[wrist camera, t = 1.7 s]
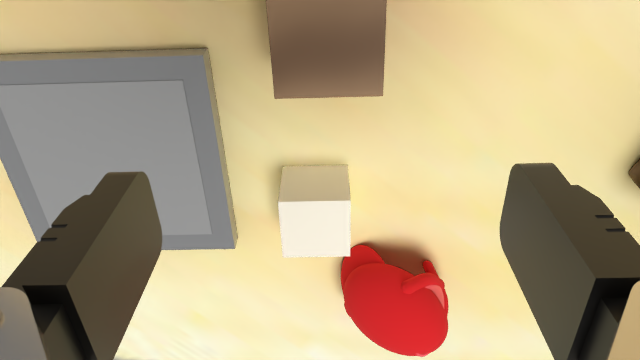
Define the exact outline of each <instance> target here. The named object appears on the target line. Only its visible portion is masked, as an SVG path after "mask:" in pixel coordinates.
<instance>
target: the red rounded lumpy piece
mask: <svg viewBox="0 0 640 360" xmlns="http://www.w3.org/2000/svg"><path fill="white" fill-rule="evenodd" d="M422 265H423V268H424V270H425V272H426V273H422V274H419V275H416V276H414V275H413V274H411V273H409V272H408V271H406V270H403V269H401V268H399V267H396V266H393V265H389V264H385V263H384V261H383V259H382V258H381V257H380V256H379V254H378V253H377V252H376V251H374V250H373V249H372V248H370V247H368V246H365V245H357V246H354V247H353V248H351V249H350V256H345V258H344V260H343V264H342V269H341V284H342V290H343V294H344V301H345V303H344V306H345V309H346V312H347V314H348V315H349V316H350V317H351V318H352V320H353V322H354V323H355V324H356V326H357V327H358V328H359V329H360V330H361V331H362V333H363V334H365V335H366V336H367V337H368V338H369V339H370V340H372V341H373V342H374V343H376V344H377V345H379V346H381V347H383V348H385V349H387V350H389V351H391V352H394V353H397V354H401V355H407V356H420V357H423V356H426V355H428V354H429V353H431V352H433V351H435V350H436V349H437V348H439V347H440V346H441V344H442V343H443V342H444V340H445V338H446V336H447V332H448V320H447V314H448V298H447V295H446V292H445V289H444V287H445V285H444V282H443V281H442V280H441V279H440V278H439V277H438V275H437V273H436V271H435V269H434V267H433V264H432V263H431V262H430V261H424V262H423V264H422Z"/></svg>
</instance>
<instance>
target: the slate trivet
mask: <svg viewBox="0 0 640 360" xmlns="http://www.w3.org/2000/svg"><path fill="white" fill-rule="evenodd" d="M0 158H1V161H2V163H3V165H4V167H5V170H6V172H7V174H8V177H9V179H10V181H11V183H12V186H13V188H14V190H15V192H16V195H17V197H18V199H19V202H20V204H21V206H22V208H23V211H24V213H25V215H26V218H27V220H28V222H29V224H30V227H31V229H32V231H33V233H34V236H35V238H36V240H37V242H39V241H41V237H42V236H43V234H44V233H45V232H46V231H47V229H48V228H51V224H52V223H53V222H54V221H55V219H56V218H57V217H58V216H59V214H60V213H61V212H62V211H63V209H64V208H66V207H67V206H69V205H70V204H72V203H73V202H75V201H76V200H77V199H79V198H80V197H82V196H83V195H90V194H91V193H92V191H93V190H94V189H95V187H96V186H97V185H98V183H99V182H100V181H101V179H102V178H103V177H104V176H105V174H107V173H108V172H139V171H142V172H144V173H145V174H146V175H147V177H148V179H149V182H150V186H151V190H152V193H153V197H154V201H155V205H156V209H157V213H158V217H159V220H160V224H161V229H162V248H161V250H191V249H235V247H236V243H237V239H238V235H237V229H236V223H235V216H234V210H233V204H232V197H231V191H230V185H229V178H228V172H227V166H226V159H225V153H224V147H223V140H222V134H221V128H220V121H219V115H218V109H217V102H216V96H215V90H214V83H213V77H212V71H211V64H210V58H209V52H208V48H197V49H164V50H131V51H98V52H65V53H31V54H0Z"/></svg>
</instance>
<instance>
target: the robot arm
mask: <svg viewBox="0 0 640 360" xmlns="http://www.w3.org/2000/svg"><path fill="white" fill-rule="evenodd" d="M500 240H501V245H502V248H503V251H504V253H505V255H506V257H507V259H508V262H509V264H510V266H511V268H512V270H513V272H514V274H515V277H516V279H517V281H518V283H519V285H520V287H521V289H522V291H523V294H524V296H525V298H526V300H527V302H528V304H529V306H530V308H531V311H532V313H533V315H534V317H535V319H536V321H537V323H538V326H539V328H540V330H541V332H542V334H543V336H544V338H545V340H546V343H547V345H548V347H549V349H550V351H551V353H552V355H553V357H554V360H640V245H639V244H638V243H637V242H636V240H635V239H634V238H633V237H632V236H631V235H630V233H629V232H625V227H624V226H623V225H622V224H621V223H620V222H619V220H618V219H617V218H614V214H613V213H612V212H611V211H610V210H609V209H608V207H607V206H606V205H605V204H604V203H603V201H602V200H601V199H600V198H598V197H597V196H595V195H593V194H592V193H590V192H589V191H587V190H585V189H584V188H582V187H581V186H579V185H570V183H569V182H568V181H567V180H566V178H565V177H564V176H563V175H562V173H561V172H560V171H559V170H558V168H557V167H556V166H555V165H554V164H553V163H526V164H515V165H514V166H513V167H512V169H511V172H510V176H509V181H508V186H507V191H506V196H505V201H504V206H503V211H502V216H501V221H500ZM161 248H162V229H161V224H160V220H159V217H158V213H157V209H156V205H155V201H154V197H153V193H152V190H151V186H150V182H149V179H148V177H147V175H146V174H145V173H144V172H142V171H139V172H108V173H107V174H105V176H104V177H103V178H102V179H101V181H100V182H99V183H98V185H97V186H96V187H95V189H94V190H93V191H92V193H91V194H90V195H83V196H82V197H80V198H79V199H77V200H76V201H75V202H73V203H72V204H70V205H69V206H67V207H66V208H64V209H63V211H62V212H61V213H60V214H59V216H58V217H57V218H56V219H55V221H54V222H53V223H52V224H51V228H48V229H47V231H46V232H45V233H44V234H43V236H42V237H41V241H39V242H37V243H36V244H35V246H34V247H33V248H32V249H31V251H30V252H29V253H28V254H27V256H26V257H25V258H24V259H23V261H22V262H21V263H20V264H19V266H18V267H17V268H16V269H15V271H14V272H13V273H12V274H11V276H10V277H9V278H8V279H7V281H6V282H5V283H4V284H3V286H2V287H0V360H113V359H114V356H115V354H116V352H117V350H118V347H119V345H120V343H121V341H122V338H123V336H124V334H125V332H126V329H127V327H128V325H129V323H130V320H131V318H132V316H133V314H134V311H135V309H136V307H137V305H138V303H139V300H140V298H141V296H142V294H143V291H144V289H145V287H146V285H147V282H148V280H149V278H150V276H151V273H152V271H153V269H154V267H155V264H156V262H157V260H158V258H159V255H160V252H161Z"/></svg>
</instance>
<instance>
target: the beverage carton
mask: <svg viewBox="0 0 640 360" xmlns="http://www.w3.org/2000/svg"><path fill="white" fill-rule="evenodd" d="M629 175H630V177H631V178H632V180H633V181H634V183H635V184H636V185H637V186H638V187H639V188H640V160H639V161H638V162H637V163H636V164H635V165H634V166H633V167H632V168H631V169H630V171H629Z"/></svg>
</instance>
